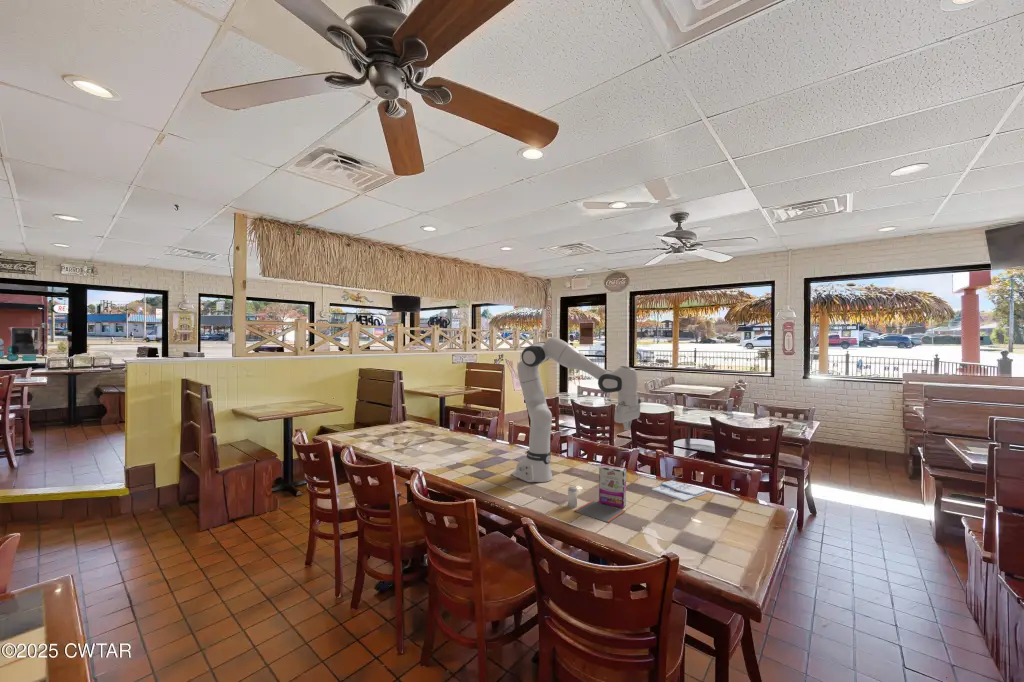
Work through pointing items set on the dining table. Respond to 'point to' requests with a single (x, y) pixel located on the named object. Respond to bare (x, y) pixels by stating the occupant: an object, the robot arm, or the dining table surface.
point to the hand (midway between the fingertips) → (627, 429)
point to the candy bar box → (612, 486)
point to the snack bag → (686, 490)
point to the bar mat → (600, 511)
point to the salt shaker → (572, 497)
